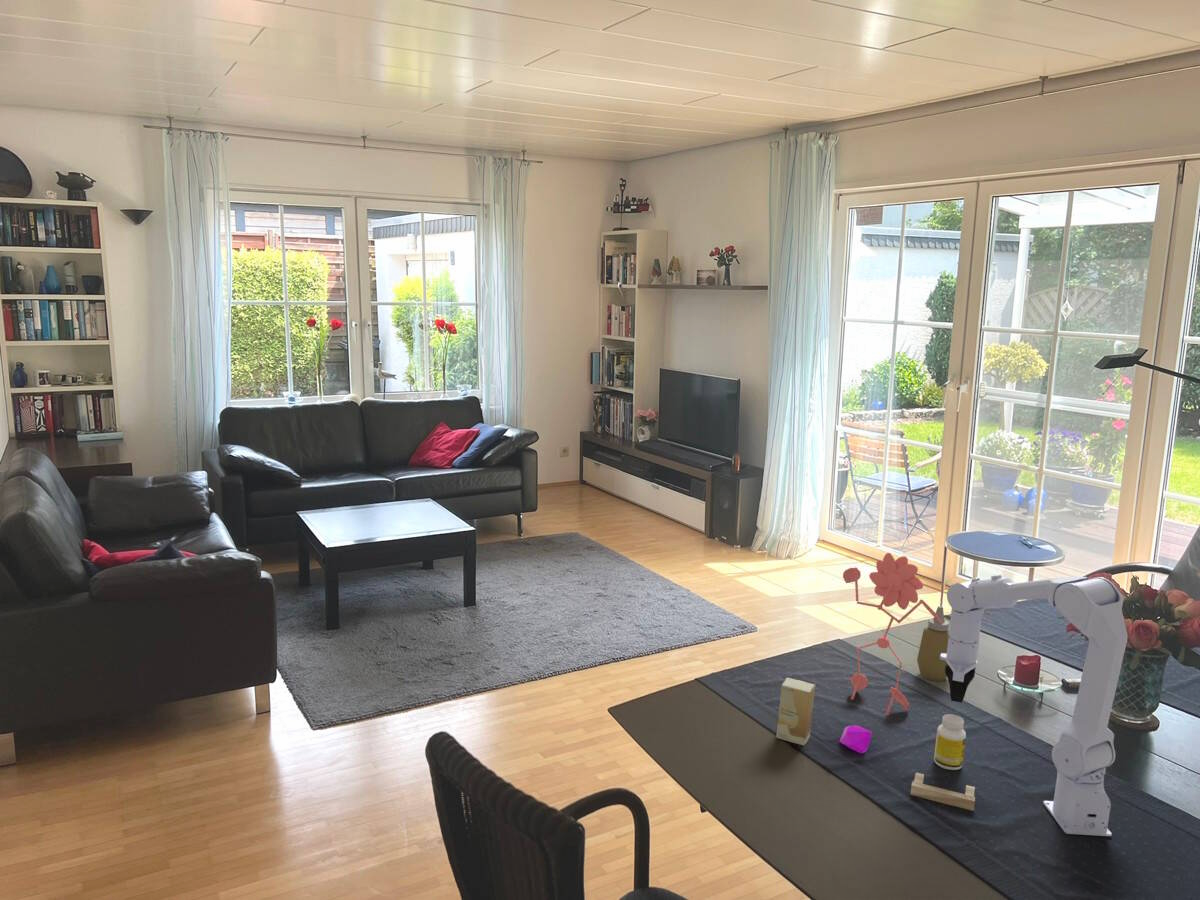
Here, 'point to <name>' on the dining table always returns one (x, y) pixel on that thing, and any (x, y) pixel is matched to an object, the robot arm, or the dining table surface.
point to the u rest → (943, 794)
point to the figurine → (894, 586)
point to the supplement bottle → (950, 742)
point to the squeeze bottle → (934, 648)
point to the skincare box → (795, 711)
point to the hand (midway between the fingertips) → (956, 700)
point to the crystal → (856, 738)
